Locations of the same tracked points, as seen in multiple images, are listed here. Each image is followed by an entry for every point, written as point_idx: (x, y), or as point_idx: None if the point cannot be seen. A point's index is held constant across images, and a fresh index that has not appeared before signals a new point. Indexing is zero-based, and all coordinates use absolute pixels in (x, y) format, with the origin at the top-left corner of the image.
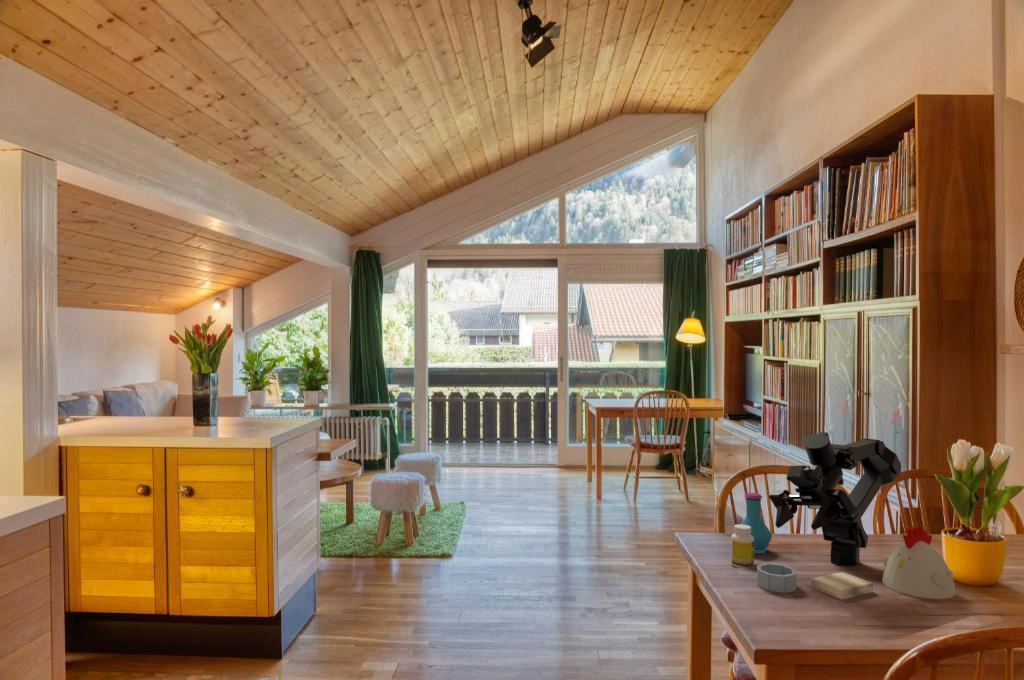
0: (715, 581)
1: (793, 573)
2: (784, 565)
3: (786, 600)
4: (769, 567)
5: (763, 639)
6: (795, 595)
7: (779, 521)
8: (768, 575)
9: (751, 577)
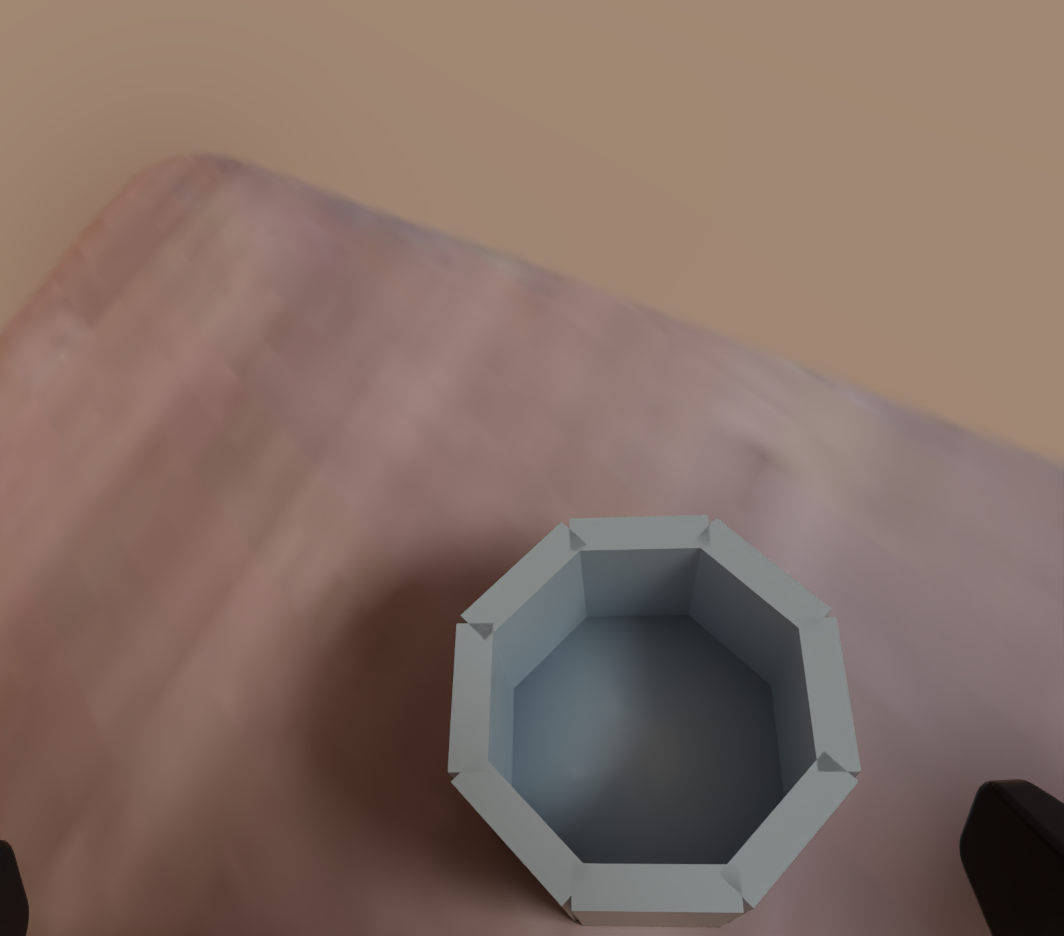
0: (1007, 466)
1: (480, 770)
2: (717, 899)
3: None
4: (807, 767)
5: (205, 197)
6: None
7: (1061, 904)
8: (571, 521)
9: None
